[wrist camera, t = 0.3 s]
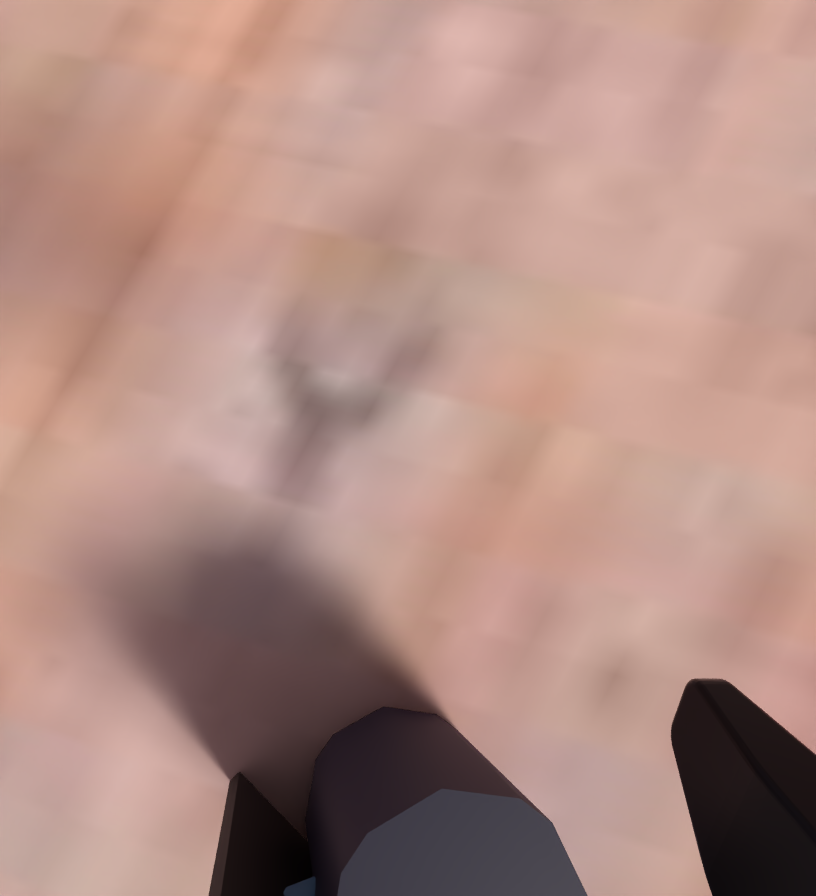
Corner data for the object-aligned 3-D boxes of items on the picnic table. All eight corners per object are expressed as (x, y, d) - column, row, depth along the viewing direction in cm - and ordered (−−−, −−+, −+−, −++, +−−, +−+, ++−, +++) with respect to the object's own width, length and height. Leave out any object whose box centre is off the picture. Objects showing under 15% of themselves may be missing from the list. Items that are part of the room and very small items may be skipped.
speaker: (299, 949, 22) (299, 1300, 12) (227, 775, 22) (168, 973, 12) (512, 830, 24) (675, 1055, 13) (442, 669, 24) (549, 768, 14)
